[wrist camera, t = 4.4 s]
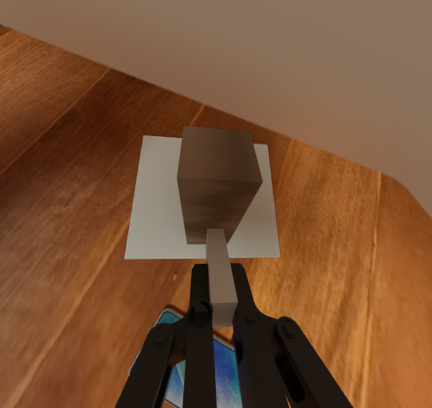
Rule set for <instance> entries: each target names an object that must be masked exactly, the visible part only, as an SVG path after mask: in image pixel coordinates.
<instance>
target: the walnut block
mask: <svg viewBox="0 0 432 408" xmlns="http://www.w3.org/2000/svg"><path fill="white" fill-rule="evenodd" d="M177 183H178V189H179V196H180V202H181V209H182V215H183V222H184V228H185V234H186V241H187V244H206V238H207V228H214V229H224V234H225V239H226V244H228V243H229V241H230V239H231V238H232V236H233V234H234V232H235V230H236V229H237V227H238V225H239V223H240V222H241V220H242V218H243V216H244V215H245V213H246V211H247V209H248V208H249V206H250V204H251V202H252V201H253V199H254V197H255V195H256V194H257V192H258V190H259V188H260V187H261V185H262V183H263V180H262V176H261V172H260V168H259V164H258V160H257V156H256V152H255V148H254V144H253V141H252V137H251V133H250V131H239V130H227V129H215V128H204V127H192V126H184V127H183V134H182V142H181V149H180V157H179V164H178V172H177Z"/></svg>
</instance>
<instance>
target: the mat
mask: <svg viewBox="0 0 432 408" xmlns="http://www.w3.org/2000/svg"><path fill="white" fill-rule="evenodd" d="M181 142H182V138H172V137H159V136H146V135H143V142H142V148H141V155H140V161H139V168H138V174H137V180H136V187H135V193H134V200H133V206H132V213H131V219H130V226H129V232H128V238H127V245H126V251H125V258H124V259H184V258H206V244H187V241H186V234H185V228H184V222H183V215H182V209H181V202H180V196H179V189H178V183H177V172H178V164H179V157H180V149H181ZM254 148H255V152H256V156H257V160H258V164H259V168H260V172H261V176H262V180H263V183H262V185H261V187H260V188H259V190H258V192H257V194H256V195H255V197H254V199H253V201H252V202H251V204H250V206H249V208H248V209H247V211H246V213H245V215H244V216H243V218H242V220H241V222H240V223H239V225H238V227H237V229H236V230H235V232H234V234H233V236H232V238H231V239H230V241H229V243H228V244H227V249H228V255H229V258H278V257H280V250H279V242H278V233H277V224H276V215H275V207H274V198H273V189H272V181H271V172H270V163H269V155H268V146H267V145H263V144H254Z"/></svg>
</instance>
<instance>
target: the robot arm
mask: <svg viewBox="0 0 432 408" xmlns="http://www.w3.org/2000/svg"><path fill="white" fill-rule="evenodd" d="M232 324H233V331H234V332H233V335H232V339H231V344H233V343H234V351H235V358H236V365H237V372H238V379H239V387H240V394H241V401H242V408H289V405H288V402H287V399H288V401H289V403H290V405H291V408H353V406H352V405H351V403H350V402H349V400H348V399H347V398H346V396H345V395H344V393H343V392H342V390H341V389H340V387H339V386H338V384H337V383H336V381H335V380H334V378H333V377H332V375H331V374H330V372H329V371H328V369H327V368H326V366H325V365H324V363H323V362H322V360H321V359H320V357H319V356H318V354H317V353H316V351H315V350H314V348H313V347H312V345H311V344H310V342H309V341H308V339H307V338H306V336H305V335H304V333H303V332H302V330H301V329H300V327H299V326H298V325H297V323H296V322H295V321H294V320H292V319H291V318H289V317H286V316H284V317H280V318H279V319H275V318H272V317H269V316H266V315H264V314H263V313H261V312H260V311H259V310H258V309H257V307H256V305H255V303H254V300H253V296H252V293H251V289H250V286H249V282H248V279H247V275H246V272H245V269H244V267H243V266H242V265H241V263H230V260H229V255H228V249H227V244H226V239H225V234H224V229H214V228H207V238H206V264H195V265H194V267H193V269H192V275H191V290H190V305H189V309H188V312H187V313H186V315H185V316H184V317H183V318H182V319H180V320H178V321H176V322H174V323H171V324H168V323H159V324H157V325H155V326H154V327H153V328H152V329H151V330H150V332H149V334H148V335H147V338H146V340H145V342H144V344H143V346H142V349H141V351H140V353H139V355H138V357H137V360H136V362H135V364H134V366H133V369H132V371H131V373H130V375H129V377H128V380H127V382H126V384H125V386H124V388H123V391H122V393H121V395H120V397H119V400H118V402H117V404H116V406H115V408H162V406H163V403H164V399H165V396H166V392H167V389H168V385H169V382H170V378H171V375H172V371H173V368H174V365H176V364H178V363H180V362H182V361H184V360H185V359H186V360H185V376H184V391H183V406H182V408H217V397H216V379H215V360H214V342H213V328H214V327H231V326H232ZM286 397H287V399H286Z"/></svg>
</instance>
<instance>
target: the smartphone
mask: <svg viewBox="0 0 432 408" xmlns="http://www.w3.org/2000/svg"><path fill="white" fill-rule="evenodd" d="M183 317H184V316H183V315H181V314H180V313H178V312H176V311H175V310H173V309H171V308H165V309H164V310H163V311H162V312H161V314H160V316H159V317H158V319H157V321H156V323H155V324H154V326H155V325H157V324H159V323H168V324H171V323H174V322H176V321H178V320H180V319H182V318H183ZM154 326H153V327H154ZM213 342H214V360H215V379H216V397H217V408H242V401H241V394H240V387H239V379H238V372H237V365H236V358H235V351H234V346H232V345H231V344H229V343H227V342H226V341H224V340H223V339H221V338H219V337H218V336H216V335H214V334H213ZM142 346H143V345H142ZM141 349H142V347H141ZM141 349H140V351H141ZM140 351H139V352H138V354H137V356H136V358H135V360H134V361H133V363H132V365H131V367H130V369H129V375H130V373H131V371H132V369H133V366H134V364H135V362H136V360H137V357H138V355H139V353H140ZM185 360H186V359H185ZM185 360H184V361H182V362H180V363H178V364H176V365H174V368H173V371H172V375H171V378H170V382H169V385H168V389H167V392H166V396H165V399H164V401H166V402H167V403H169V404H170V405H172V406H174V407H175V408H182V406H183V391H184V376H185Z"/></svg>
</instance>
